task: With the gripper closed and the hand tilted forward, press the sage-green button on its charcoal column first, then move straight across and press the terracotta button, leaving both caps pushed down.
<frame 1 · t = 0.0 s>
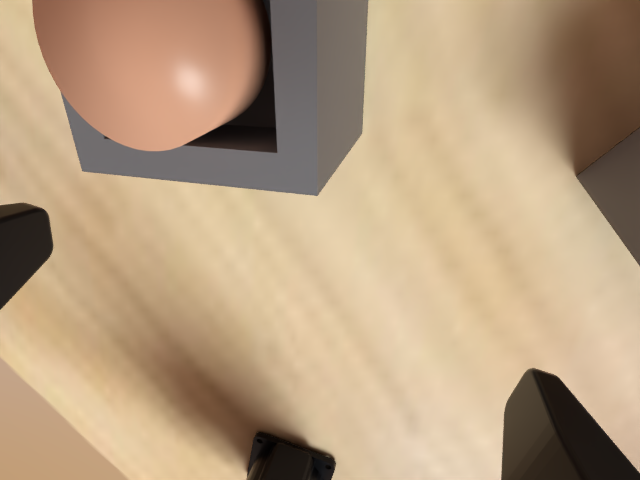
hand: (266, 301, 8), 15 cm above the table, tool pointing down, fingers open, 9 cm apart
terracotta button housing: (268, 27, 20), on the table
terracotta button: (160, 40, 12), point 8 cm above the table, slide at 0.0 cm
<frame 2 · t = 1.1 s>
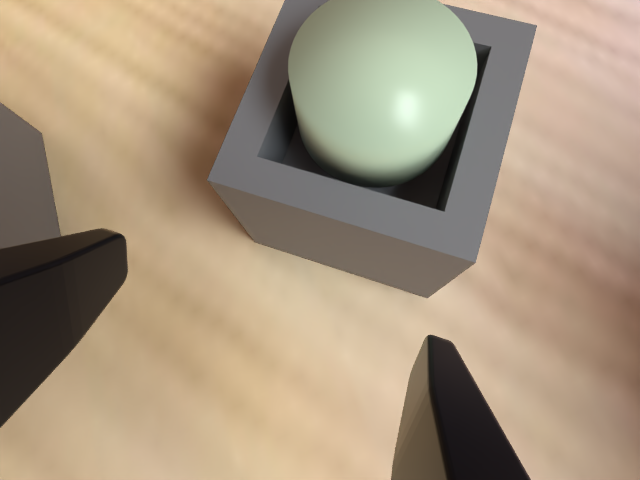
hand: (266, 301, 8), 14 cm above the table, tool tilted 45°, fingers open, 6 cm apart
green button housing: (365, 188, 23), on the table
green button: (377, 91, 14), point 9 cm above the table, slide at 0.0 cm
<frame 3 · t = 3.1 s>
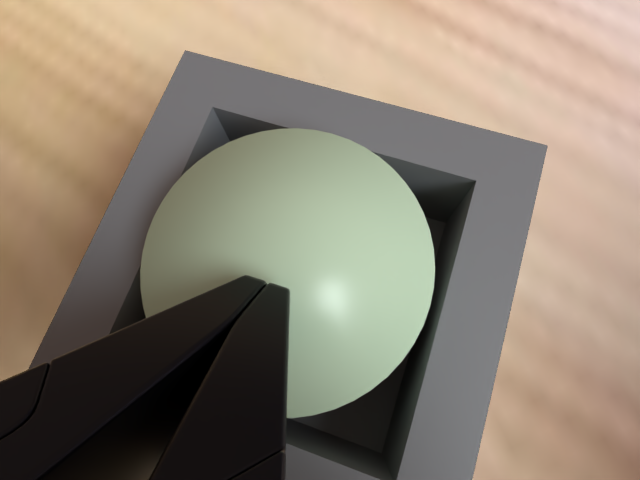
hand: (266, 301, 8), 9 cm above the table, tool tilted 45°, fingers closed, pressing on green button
green button housing: (315, 313, 17), on the table
green button: (294, 275, 10), point 8 cm above the table, slide at 0.9 cm, touching gripper
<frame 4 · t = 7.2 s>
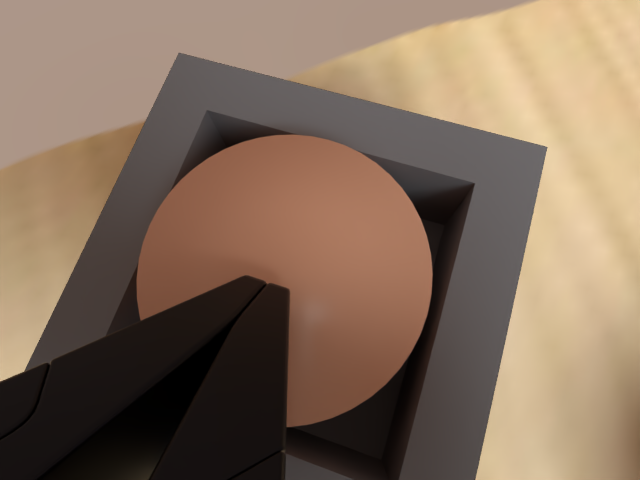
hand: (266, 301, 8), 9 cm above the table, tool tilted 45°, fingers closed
terracotta button housing: (313, 316, 17), on the table
terracotta button: (291, 281, 10), point 7 cm above the table, slide at 1.1 cm
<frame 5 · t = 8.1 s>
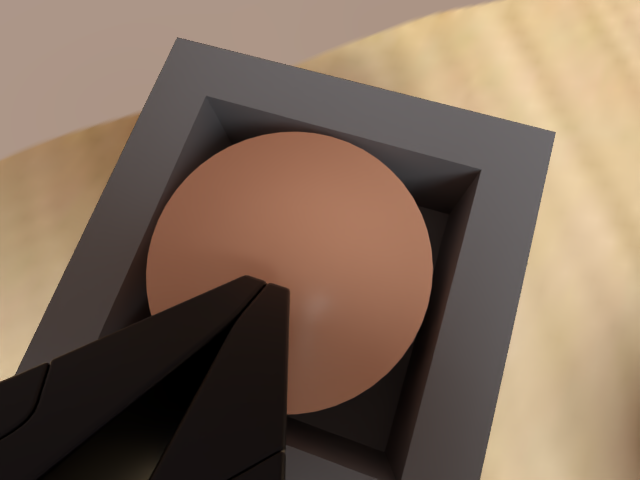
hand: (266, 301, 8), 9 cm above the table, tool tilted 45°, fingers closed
terracotta button housing: (315, 308, 17), on the table
terracotta button: (295, 275, 10), point 7 cm above the table, slide at 1.6 cm
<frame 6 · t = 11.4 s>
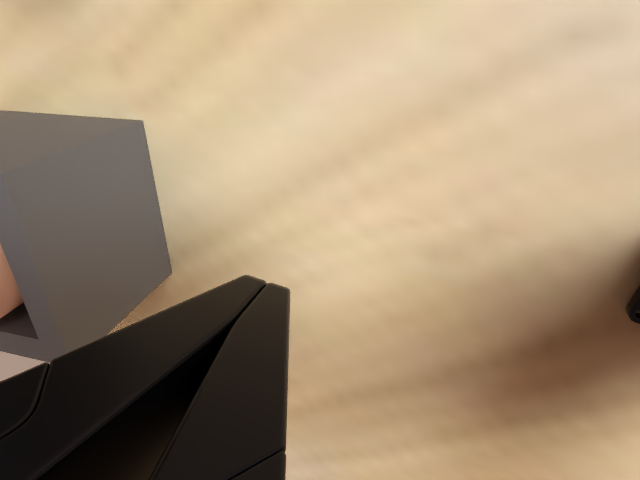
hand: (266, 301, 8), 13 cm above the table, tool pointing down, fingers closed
terracotta button housing: (89, 195, 25), on the table
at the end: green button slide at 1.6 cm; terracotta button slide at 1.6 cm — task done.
